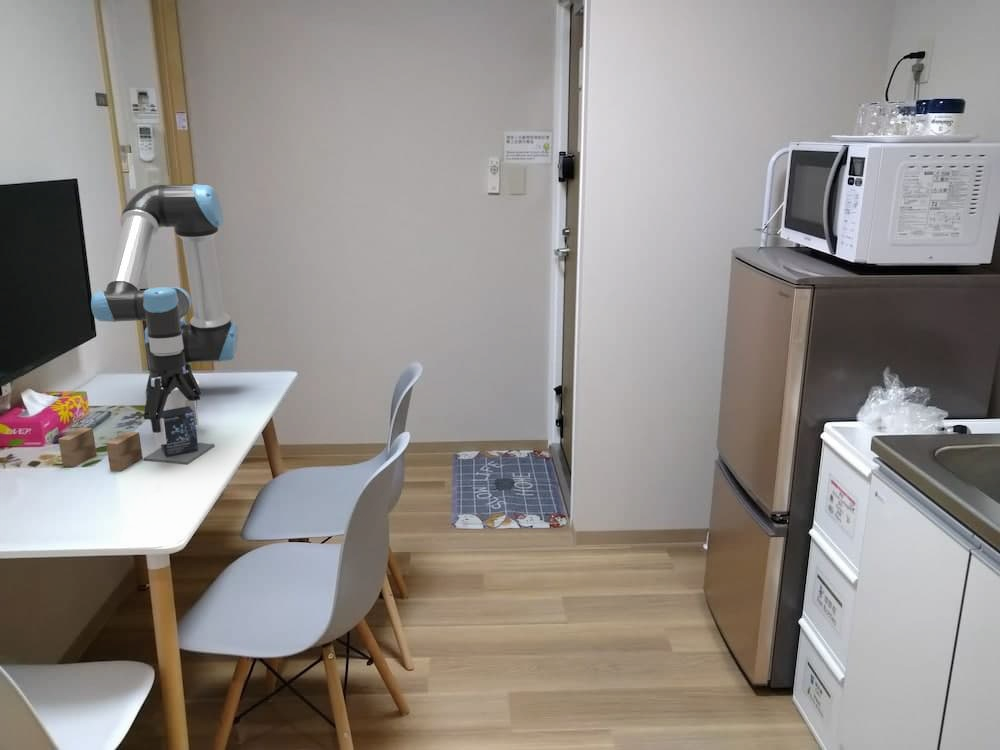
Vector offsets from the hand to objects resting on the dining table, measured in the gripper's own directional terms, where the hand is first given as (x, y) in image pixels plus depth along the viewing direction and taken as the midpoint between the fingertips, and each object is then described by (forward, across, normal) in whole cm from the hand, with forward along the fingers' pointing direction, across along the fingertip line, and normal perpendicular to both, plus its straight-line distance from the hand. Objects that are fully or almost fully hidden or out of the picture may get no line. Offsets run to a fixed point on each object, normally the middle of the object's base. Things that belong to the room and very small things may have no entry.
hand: (177, 433), depth 192 cm
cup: (+5, -14, -8) cm, 17 cm away
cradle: (+5, +9, -15) cm, 18 cm away
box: (+5, 0, 0) cm, 5 cm away
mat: (+5, 0, 0) cm, 5 cm away
